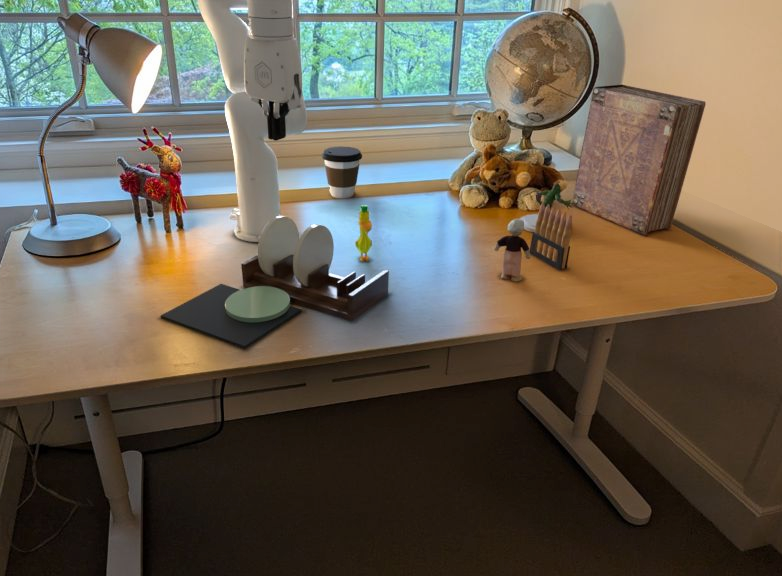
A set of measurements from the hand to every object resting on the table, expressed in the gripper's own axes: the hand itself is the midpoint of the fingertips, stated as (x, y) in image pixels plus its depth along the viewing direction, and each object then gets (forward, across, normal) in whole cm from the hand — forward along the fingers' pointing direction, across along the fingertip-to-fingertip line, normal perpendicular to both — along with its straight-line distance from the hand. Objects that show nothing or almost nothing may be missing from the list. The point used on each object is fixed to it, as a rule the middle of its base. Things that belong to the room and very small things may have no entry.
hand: (277, 138), depth 119 cm
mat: (+27, +4, -20) cm, 34 cm away
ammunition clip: (+27, +44, +37) cm, 64 cm away
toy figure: (+28, +11, +15) cm, 33 cm away
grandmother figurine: (+27, +40, +24) cm, 54 cm away
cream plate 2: (+20, +11, -4) cm, 23 cm away
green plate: (+26, +7, -16) cm, 31 cm away
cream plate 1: (+20, +2, -4) cm, 20 cm away
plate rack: (+27, +11, -4) cm, 29 cm away
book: (+28, +50, +76) cm, 95 cm away
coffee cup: (+29, -19, +49) cm, 60 cm away
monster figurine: (+28, +36, +58) cm, 74 cm away
